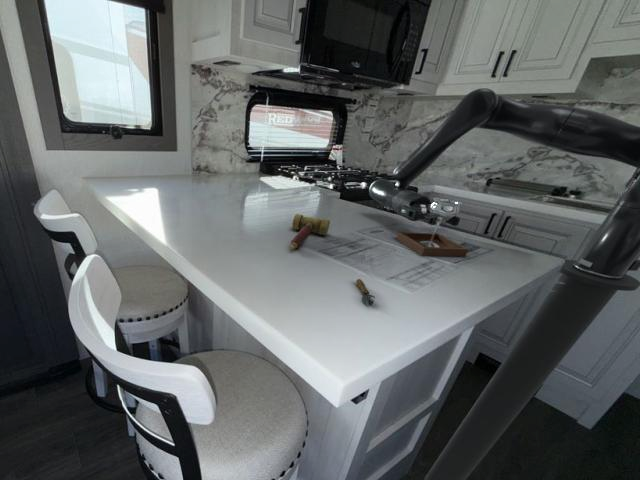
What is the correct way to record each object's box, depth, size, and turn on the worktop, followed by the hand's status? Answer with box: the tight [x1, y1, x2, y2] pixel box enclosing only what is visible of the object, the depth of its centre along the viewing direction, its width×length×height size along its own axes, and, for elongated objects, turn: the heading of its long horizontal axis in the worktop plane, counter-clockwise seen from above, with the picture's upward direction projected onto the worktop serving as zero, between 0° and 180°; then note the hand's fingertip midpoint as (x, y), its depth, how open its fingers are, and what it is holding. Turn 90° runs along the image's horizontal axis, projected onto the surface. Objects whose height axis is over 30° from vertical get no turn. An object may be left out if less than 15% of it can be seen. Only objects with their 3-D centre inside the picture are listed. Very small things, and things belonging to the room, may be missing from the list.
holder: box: [396, 231, 469, 258], centre depth 86 cm, size 13×13×2 cm
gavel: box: [290, 213, 331, 250], centre depth 84 cm, size 21×5×10 cm
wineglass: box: [420, 197, 463, 247], centre depth 83 cm, size 7×7×12 cm
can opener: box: [356, 278, 376, 306], centre depth 59 cm, size 9×2×1 cm, turn 171°
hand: (446, 221), depth 80 cm, fingers closed on wineglass, 6 cm apart
